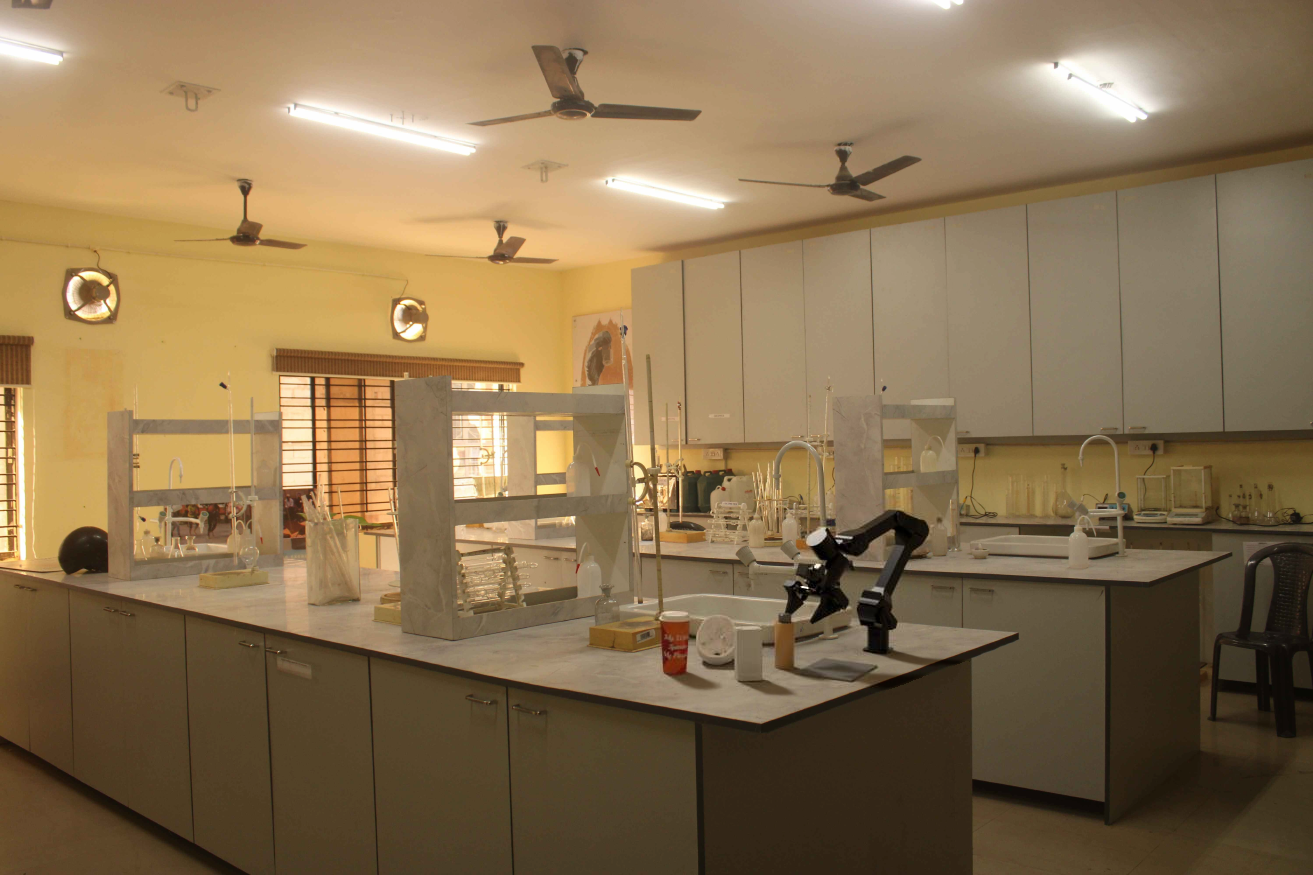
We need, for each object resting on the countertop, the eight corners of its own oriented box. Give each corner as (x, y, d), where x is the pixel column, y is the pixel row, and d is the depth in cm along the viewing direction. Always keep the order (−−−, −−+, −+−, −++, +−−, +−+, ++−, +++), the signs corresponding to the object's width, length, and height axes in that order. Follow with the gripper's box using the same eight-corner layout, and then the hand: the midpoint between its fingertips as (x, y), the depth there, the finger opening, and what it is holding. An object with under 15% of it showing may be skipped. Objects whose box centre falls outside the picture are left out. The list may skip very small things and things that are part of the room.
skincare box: (759, 676, 225) (759, 625, 225) (763, 681, 220) (763, 628, 220) (733, 677, 224) (733, 625, 224) (736, 682, 220) (737, 629, 220)
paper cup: (663, 676, 224) (663, 616, 224) (655, 668, 232) (655, 611, 232) (695, 674, 226) (695, 615, 227) (685, 667, 234) (686, 609, 234)
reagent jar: (779, 663, 238) (780, 611, 238) (797, 666, 235) (797, 613, 235) (771, 667, 234) (771, 614, 234) (789, 670, 231) (789, 616, 231)
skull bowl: (741, 647, 250) (740, 612, 243) (737, 687, 238) (735, 652, 232) (701, 645, 252) (699, 610, 245) (695, 685, 240) (692, 649, 234)
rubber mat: (823, 659, 243) (823, 657, 243) (877, 666, 236) (877, 664, 236) (795, 673, 228) (795, 672, 228) (851, 681, 220) (851, 680, 220)
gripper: (788, 547, 248) (756, 593, 242) (841, 555, 233) (807, 604, 226) (810, 576, 252) (779, 622, 246) (863, 585, 237) (831, 634, 231)
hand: (798, 619), depth 237 cm, fingers open, 9 cm apart
